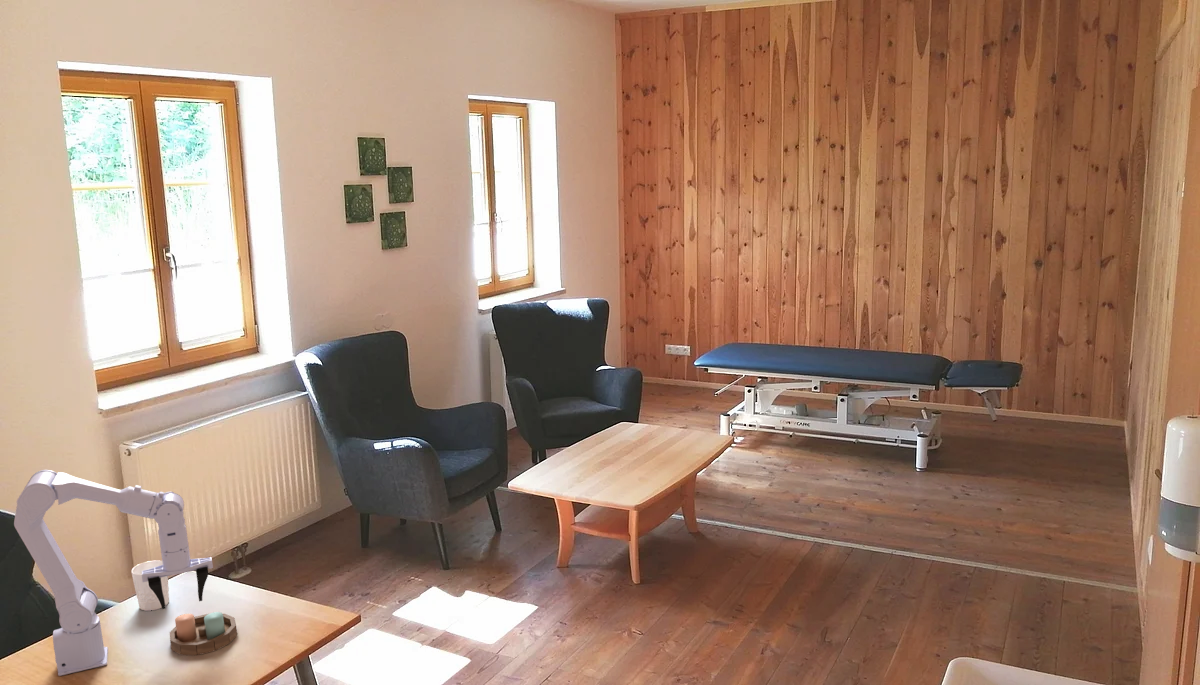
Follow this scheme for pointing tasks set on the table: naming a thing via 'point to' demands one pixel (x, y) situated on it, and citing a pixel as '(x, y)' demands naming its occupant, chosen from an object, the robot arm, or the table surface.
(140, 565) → the white cup
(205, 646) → the tray
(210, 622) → the pale teal rounded piece
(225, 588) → the table surface
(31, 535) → the robot arm
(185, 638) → the peach rounded cylinder
